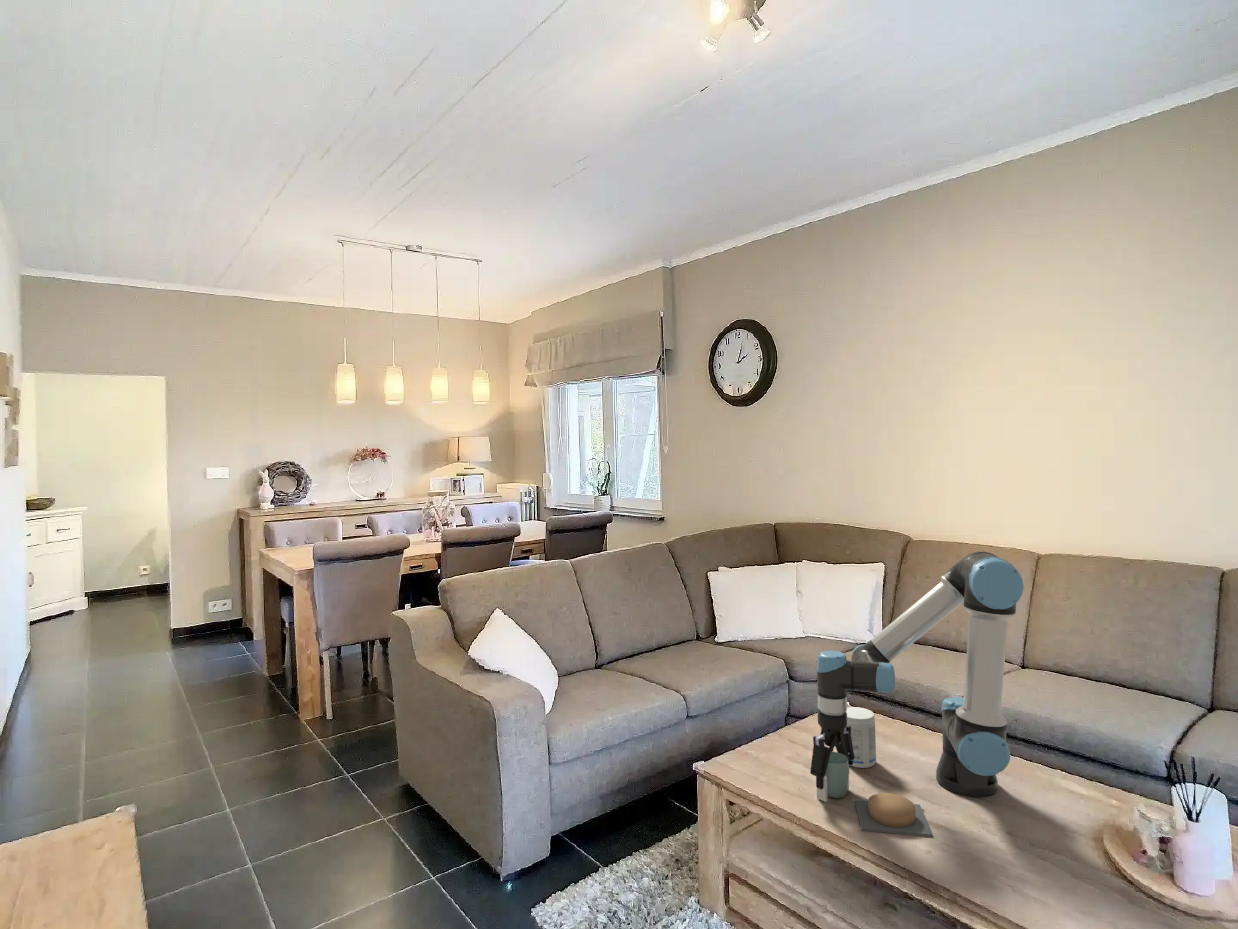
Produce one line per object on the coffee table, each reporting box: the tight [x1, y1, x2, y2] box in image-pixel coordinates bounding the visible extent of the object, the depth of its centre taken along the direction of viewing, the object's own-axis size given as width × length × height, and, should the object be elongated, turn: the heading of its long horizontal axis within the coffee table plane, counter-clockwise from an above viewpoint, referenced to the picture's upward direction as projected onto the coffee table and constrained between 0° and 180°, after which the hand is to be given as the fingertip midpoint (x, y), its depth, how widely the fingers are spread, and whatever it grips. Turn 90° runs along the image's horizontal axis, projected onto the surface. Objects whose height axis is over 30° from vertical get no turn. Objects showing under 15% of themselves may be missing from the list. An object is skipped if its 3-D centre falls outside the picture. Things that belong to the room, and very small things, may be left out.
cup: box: [825, 751, 850, 799], centre depth 185 cm, size 8×8×10 cm
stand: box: [854, 792, 934, 838], centre depth 173 cm, size 16×14×4 cm
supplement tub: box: [846, 706, 877, 769], centre depth 204 cm, size 10×10×15 cm
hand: (833, 793), depth 185 cm, fingers open, 9 cm apart
